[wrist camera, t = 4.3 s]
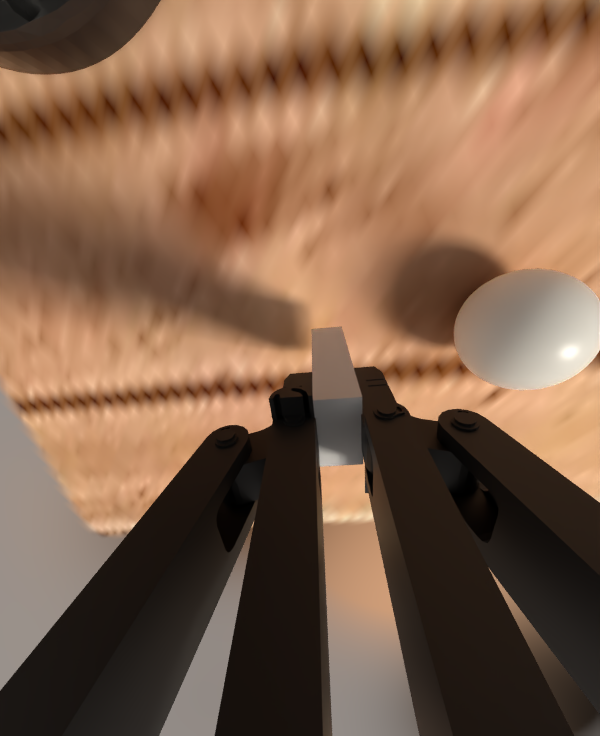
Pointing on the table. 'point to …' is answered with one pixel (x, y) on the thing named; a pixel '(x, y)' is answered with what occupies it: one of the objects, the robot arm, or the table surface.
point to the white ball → (528, 329)
